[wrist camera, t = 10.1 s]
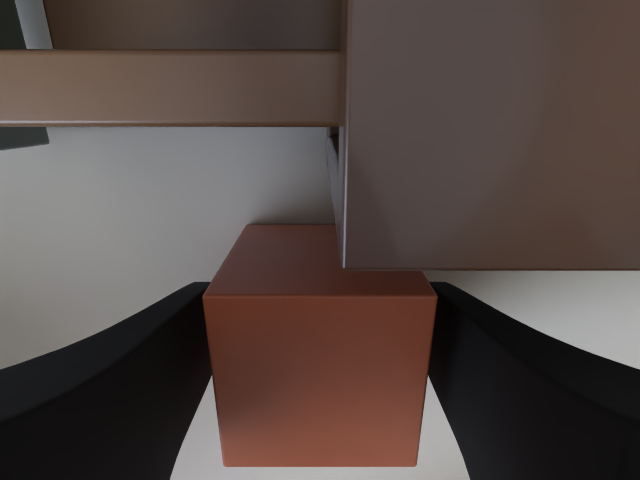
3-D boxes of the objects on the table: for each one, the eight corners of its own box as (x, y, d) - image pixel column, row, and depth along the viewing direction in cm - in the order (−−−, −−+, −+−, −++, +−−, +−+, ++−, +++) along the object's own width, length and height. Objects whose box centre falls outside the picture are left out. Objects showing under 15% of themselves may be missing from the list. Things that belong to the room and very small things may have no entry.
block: (255, 347, 13) (222, 468, 9) (246, 223, 11) (200, 295, 7) (384, 347, 13) (417, 468, 9) (393, 223, 11) (439, 295, 7)
